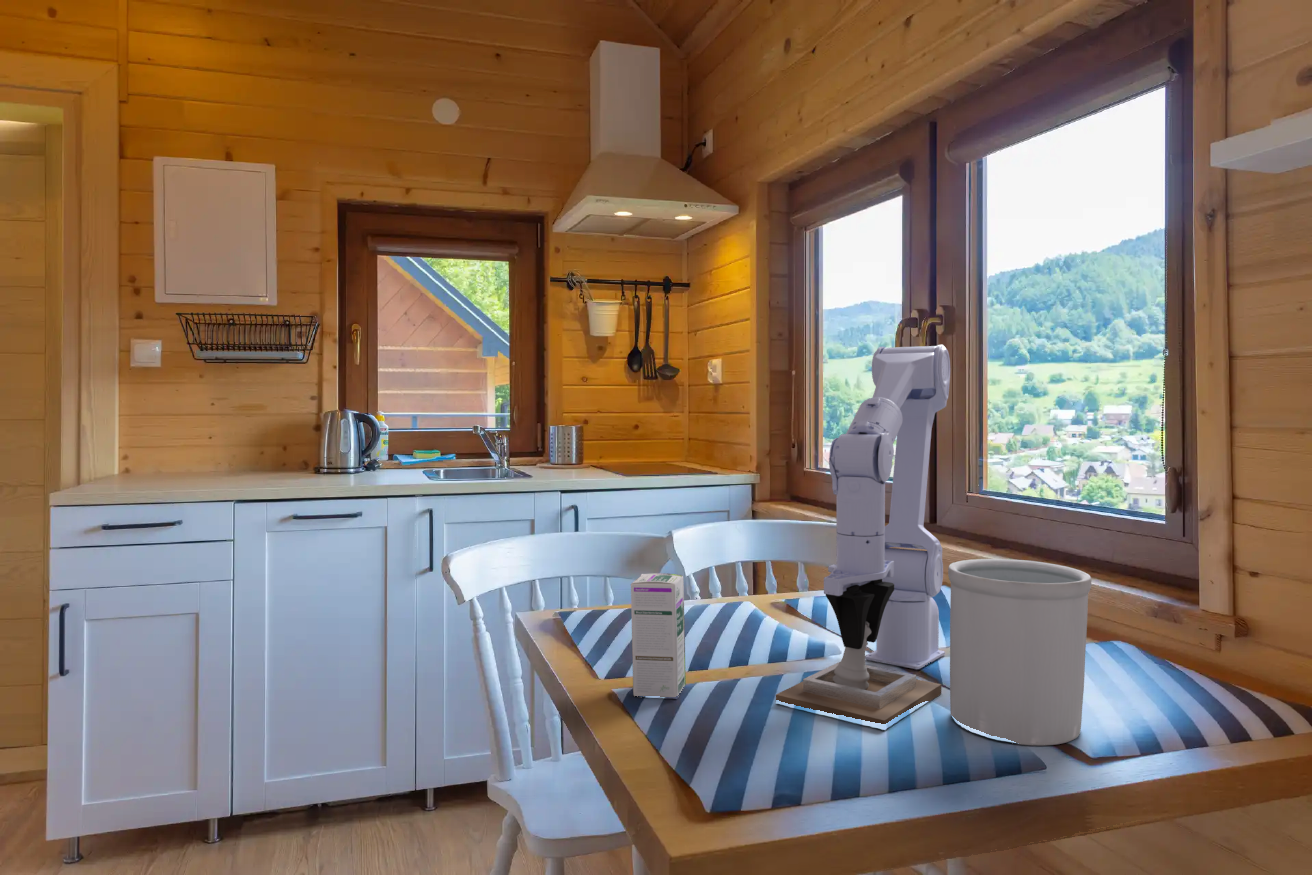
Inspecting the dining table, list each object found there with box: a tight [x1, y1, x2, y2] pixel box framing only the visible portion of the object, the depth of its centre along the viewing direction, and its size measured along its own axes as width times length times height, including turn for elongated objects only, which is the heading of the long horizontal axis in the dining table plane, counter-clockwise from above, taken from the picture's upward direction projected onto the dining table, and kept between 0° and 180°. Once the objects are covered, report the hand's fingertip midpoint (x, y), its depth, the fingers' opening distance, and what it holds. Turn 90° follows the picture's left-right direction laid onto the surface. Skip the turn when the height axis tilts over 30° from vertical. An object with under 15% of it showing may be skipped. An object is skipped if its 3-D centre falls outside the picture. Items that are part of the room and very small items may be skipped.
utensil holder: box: [947, 558, 1092, 746], centre depth 101 cm, size 15×15×18 cm
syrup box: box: [630, 572, 687, 698], centre depth 113 cm, size 6×6×14 cm
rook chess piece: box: [833, 621, 871, 690], centre depth 110 cm, size 4×4×8 cm
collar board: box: [775, 660, 942, 724], centre depth 110 cm, size 16×14×3 cm
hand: (860, 644), depth 110 cm, fingers closed on rook chess piece, 3 cm apart
